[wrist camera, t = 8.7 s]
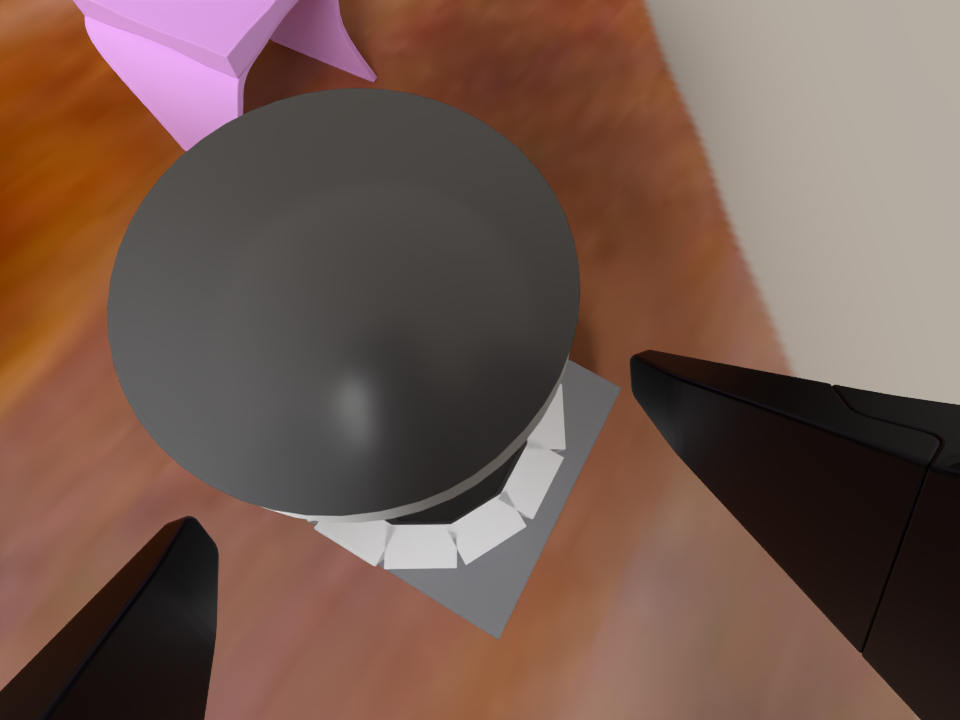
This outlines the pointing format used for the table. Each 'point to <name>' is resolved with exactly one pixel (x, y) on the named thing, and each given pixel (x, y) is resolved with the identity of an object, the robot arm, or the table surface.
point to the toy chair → (209, 51)
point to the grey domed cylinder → (345, 305)
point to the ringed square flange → (491, 514)
